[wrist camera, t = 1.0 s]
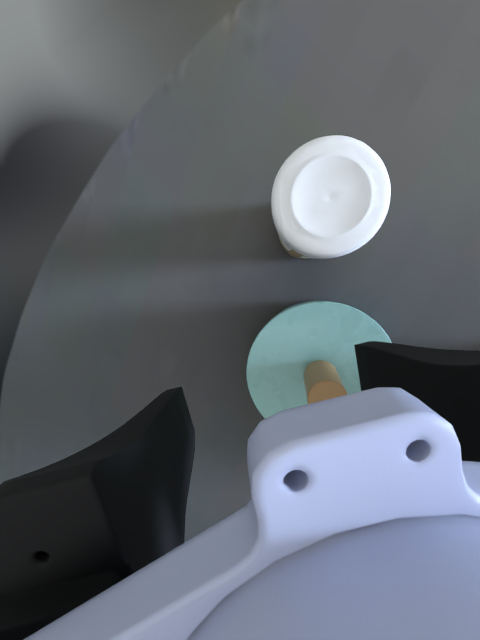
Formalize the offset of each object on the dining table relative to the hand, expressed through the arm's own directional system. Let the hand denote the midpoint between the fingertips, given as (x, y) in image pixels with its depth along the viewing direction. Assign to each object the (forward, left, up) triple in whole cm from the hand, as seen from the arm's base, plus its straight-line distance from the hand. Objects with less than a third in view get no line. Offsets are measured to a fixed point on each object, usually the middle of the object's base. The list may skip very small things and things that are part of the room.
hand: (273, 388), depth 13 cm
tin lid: (-4, +1, -11) cm, 12 cm away
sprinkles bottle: (+3, -7, -15) cm, 16 cm away
